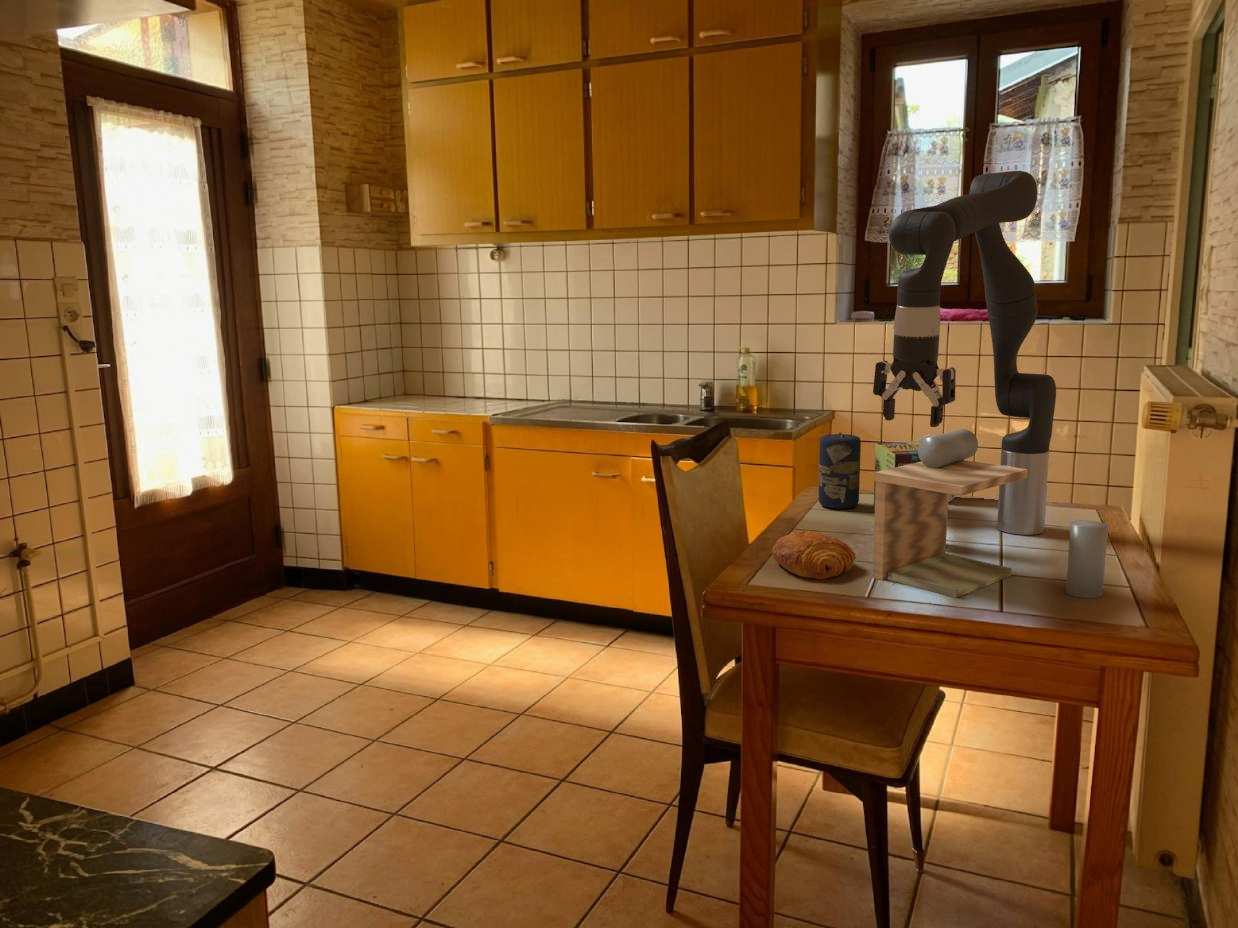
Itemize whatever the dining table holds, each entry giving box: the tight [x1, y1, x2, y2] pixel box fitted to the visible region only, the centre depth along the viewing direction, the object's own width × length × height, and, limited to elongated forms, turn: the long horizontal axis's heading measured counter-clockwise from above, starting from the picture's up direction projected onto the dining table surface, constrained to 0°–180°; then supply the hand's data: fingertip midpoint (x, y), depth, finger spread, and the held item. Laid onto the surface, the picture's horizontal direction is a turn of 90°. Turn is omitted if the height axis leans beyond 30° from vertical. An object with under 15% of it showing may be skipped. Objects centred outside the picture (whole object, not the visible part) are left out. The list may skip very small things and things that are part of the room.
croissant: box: [771, 529, 857, 580], centre depth 176 cm, size 14×16×8 cm
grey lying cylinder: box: [918, 428, 979, 468], centre depth 172 cm, size 6×6×12 cm
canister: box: [817, 431, 862, 509], centre depth 222 cm, size 10×10×18 cm
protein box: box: [873, 441, 920, 508], centre depth 214 cm, size 10×15×16 cm
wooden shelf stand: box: [872, 459, 1027, 598], centre depth 168 cm, size 21×17×20 cm
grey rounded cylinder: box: [1065, 519, 1109, 599], centre depth 158 cm, size 6×6×12 cm
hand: (911, 423), depth 166 cm, fingers open, 8 cm apart
